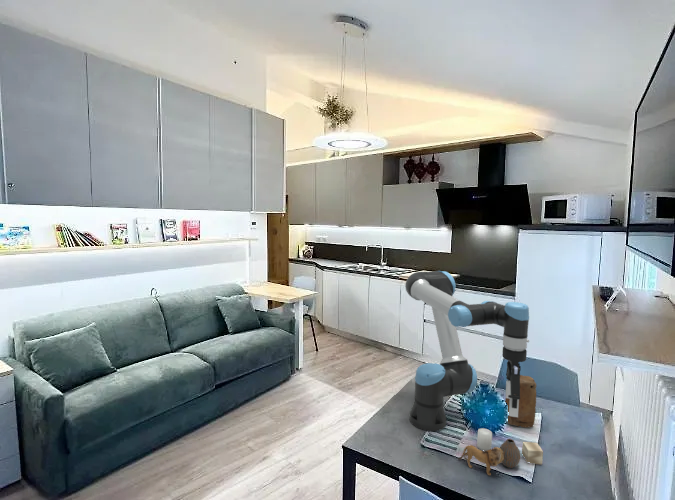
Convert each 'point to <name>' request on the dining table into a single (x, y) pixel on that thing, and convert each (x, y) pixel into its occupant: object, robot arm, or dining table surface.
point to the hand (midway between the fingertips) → (511, 406)
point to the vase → (510, 453)
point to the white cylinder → (484, 439)
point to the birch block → (532, 452)
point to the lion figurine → (484, 456)
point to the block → (525, 403)
